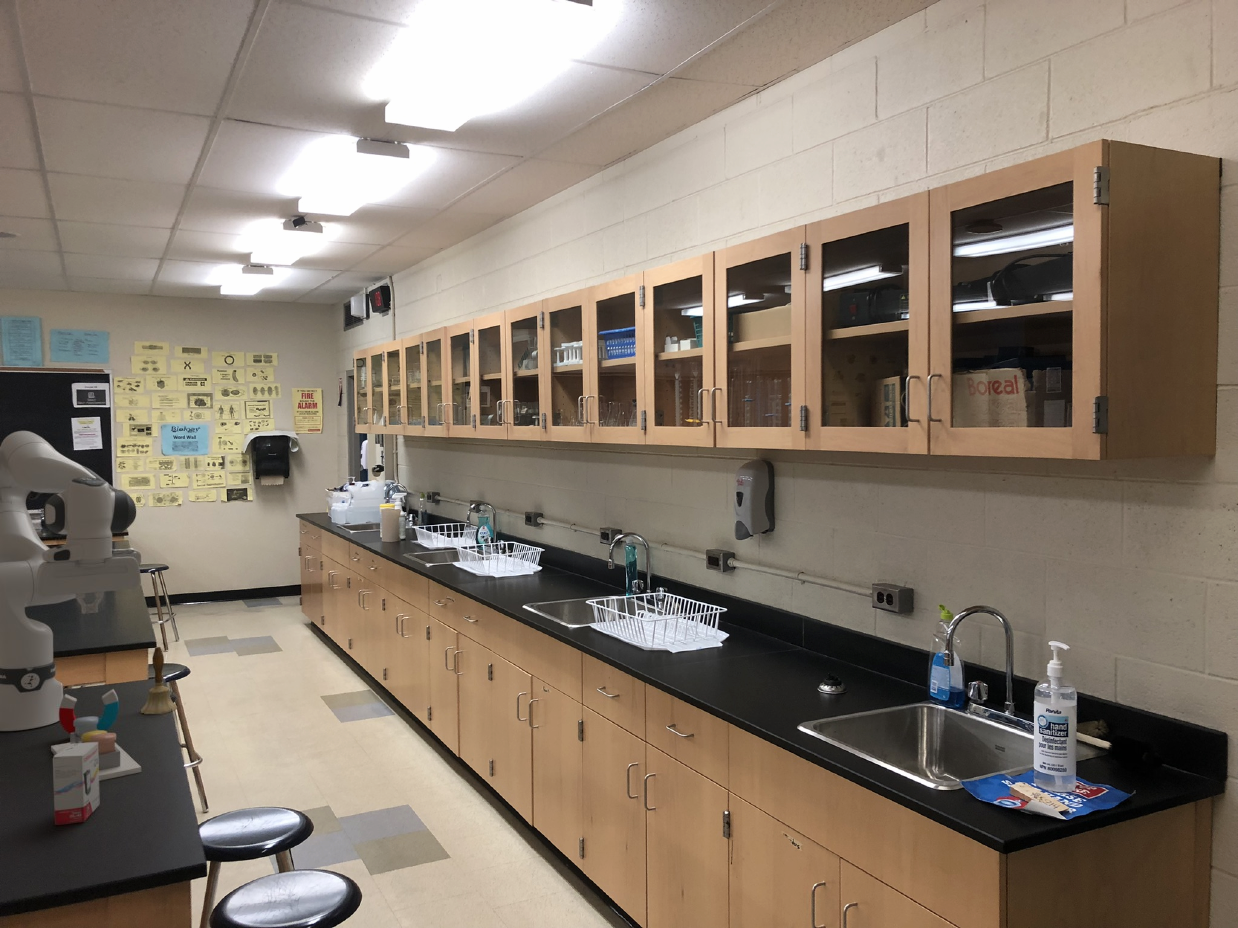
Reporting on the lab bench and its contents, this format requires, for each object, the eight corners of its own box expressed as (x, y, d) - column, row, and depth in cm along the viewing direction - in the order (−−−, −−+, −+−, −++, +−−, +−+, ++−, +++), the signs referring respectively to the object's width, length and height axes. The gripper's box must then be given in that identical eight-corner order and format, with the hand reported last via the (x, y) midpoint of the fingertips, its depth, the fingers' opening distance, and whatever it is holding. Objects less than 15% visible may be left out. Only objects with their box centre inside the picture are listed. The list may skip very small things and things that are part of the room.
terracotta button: (88, 757, 183) (87, 735, 183) (113, 752, 186) (113, 731, 186) (93, 763, 180) (93, 740, 180) (118, 758, 183) (118, 736, 183)
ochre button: (79, 754, 189) (79, 733, 189) (104, 749, 192) (104, 728, 192) (84, 760, 186) (84, 738, 186) (109, 755, 189) (109, 733, 189)
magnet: (118, 731, 210) (118, 688, 210) (118, 734, 208) (118, 690, 207) (59, 738, 204) (59, 694, 204) (58, 741, 202) (58, 697, 202)
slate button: (71, 739, 195) (71, 719, 195) (95, 735, 198) (95, 715, 198) (76, 744, 192) (76, 723, 192) (100, 740, 195) (100, 719, 195)
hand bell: (166, 714, 223) (166, 650, 223) (133, 714, 224) (133, 650, 224) (183, 705, 232) (183, 643, 232) (151, 705, 232) (151, 643, 232)
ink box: (84, 823, 156) (83, 755, 156) (51, 826, 155) (51, 757, 155) (100, 805, 165) (100, 740, 165) (70, 807, 164) (69, 742, 163)
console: (51, 750, 196) (51, 732, 196) (108, 739, 203) (107, 722, 203) (78, 784, 175) (78, 764, 175) (141, 771, 182) (141, 752, 182)
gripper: (137, 546, 210) (137, 606, 210) (33, 552, 196) (34, 616, 196) (144, 548, 205) (144, 609, 205) (39, 554, 192) (39, 619, 192)
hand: (89, 612), depth 201 cm, fingers closed
